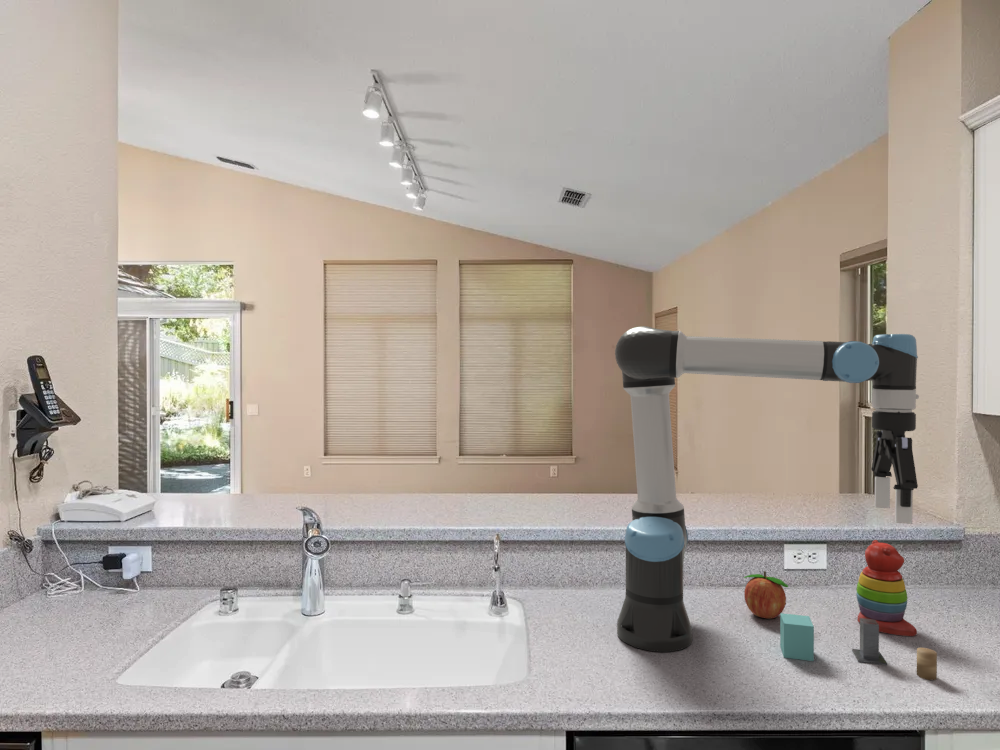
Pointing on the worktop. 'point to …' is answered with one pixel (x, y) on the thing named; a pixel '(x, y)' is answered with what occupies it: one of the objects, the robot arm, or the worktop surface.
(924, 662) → the oak stub
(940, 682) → the worktop surface
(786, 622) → the teal rectangular prism
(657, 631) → the robot arm
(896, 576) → the stacking bear
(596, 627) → the worktop surface
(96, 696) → the worktop surface
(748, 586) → the fruit
